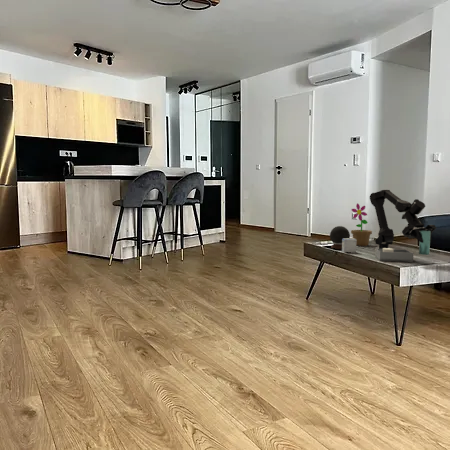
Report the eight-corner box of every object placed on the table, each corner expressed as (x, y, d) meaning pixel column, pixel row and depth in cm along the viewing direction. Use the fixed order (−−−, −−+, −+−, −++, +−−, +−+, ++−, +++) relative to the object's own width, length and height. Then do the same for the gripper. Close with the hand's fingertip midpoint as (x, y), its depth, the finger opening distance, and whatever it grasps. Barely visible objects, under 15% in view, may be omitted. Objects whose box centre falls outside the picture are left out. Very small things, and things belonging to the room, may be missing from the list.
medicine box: (353, 251, 269) (354, 238, 268) (356, 252, 264) (356, 239, 264) (341, 251, 269) (342, 238, 268) (343, 252, 264) (344, 239, 263)
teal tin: (417, 253, 229) (418, 230, 228) (427, 253, 229) (428, 230, 228) (420, 254, 224) (421, 231, 223) (430, 254, 224) (431, 231, 222)
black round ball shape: (353, 248, 284) (354, 226, 283) (341, 249, 277) (341, 227, 275) (337, 246, 295) (338, 224, 294) (325, 247, 287) (326, 225, 286)
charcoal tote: (375, 257, 247) (375, 248, 247) (406, 257, 244) (407, 249, 244) (379, 260, 234) (380, 251, 234) (413, 261, 231) (413, 252, 231)
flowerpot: (346, 244, 303) (348, 203, 301) (357, 243, 313) (358, 202, 310) (364, 246, 292) (366, 203, 290) (375, 245, 302) (376, 203, 300)
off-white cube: (382, 256, 243) (382, 248, 242) (391, 256, 242) (391, 248, 241) (384, 258, 238) (384, 249, 237) (393, 258, 237) (393, 249, 236)
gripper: (418, 228, 243) (432, 250, 233) (391, 229, 237) (404, 251, 228) (429, 216, 235) (444, 238, 225) (401, 216, 229) (415, 239, 220)
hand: (426, 242), depth 225 cm, fingers closed on teal tin, 5 cm apart
